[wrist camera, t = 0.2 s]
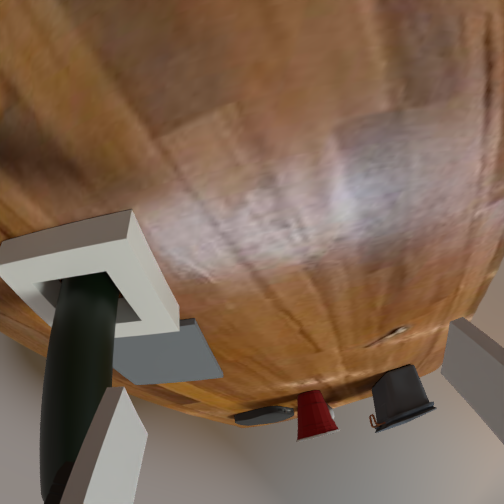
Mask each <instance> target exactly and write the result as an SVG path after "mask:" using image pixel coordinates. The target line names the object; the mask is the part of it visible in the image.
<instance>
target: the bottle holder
mask: <svg viewBox="0 0 504 504" xmlns="http://www.w3.org/2000/svg"><path fill="white" fill-rule="evenodd" d="M104 271H106V272H107V273H108V275H109V276H110V278H111V279H112V280H113V282H114V283H115V285H116V286H117V288H118V289H119V290H120V292H121V293H122V295H123V296H124V297H125V298H118V307H117V316H116V326H115V338H119V337H130V336H140V335H150V334H159V333H168V332H176V331H180V327H179V305H178V303H177V301H176V299H175V297H174V296H173V294H172V292H171V290H170V288H169V286H168V284H167V282H166V280H165V278H164V276H163V274H162V272H161V270H160V268H159V266H158V264H157V262H156V260H155V258H154V256H153V254H152V252H151V250H150V247H149V245H148V243H147V241H146V239H145V237H144V235H143V233H142V230H141V228H140V226H139V224H138V222H137V220H136V217H135V215H134V213H133V211H132V209H131V210H127V211H122V212H117V213H113V214H108V215H104V216H99V217H95V218H91V219H86V220H82V221H78V222H74V223H70V224H66V225H62V226H58V227H54V228H50V229H46V230H42V231H38V232H35V233H31V234H27V235H24V236H20V237H16V238H13V239H9V240H6V241H3V242H2V244H1V246H0V277H1V278H2V279H3V280H4V281H5V282H6V283H7V284H8V285H9V286H10V287H11V288H12V290H13V291H14V292H15V293H16V294H17V295H18V296H19V297H20V298H21V299H22V300H23V301H24V302H25V303H26V304H27V305H28V306H29V307H30V308H31V309H32V310H33V311H34V312H36V313H37V314H38V315H39V316H40V317H41V318H42V319H43V320H44V321H45V322H46V323H47V324H48V325H50V326H51V327H52V324H53V319H54V314H55V309H56V304H57V300H58V296H59V291H60V287H61V282H60V281H59V280H58V279H62V278H68V277H74V276H80V275H86V274H92V273H98V272H104Z"/></svg>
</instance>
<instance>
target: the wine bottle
mask: <svg viewBox="0 0 504 504" xmlns="http://www.w3.org/2000/svg"><path fill="white" fill-rule="evenodd" d="M118 298H119V289H118V288H117V286H116V285H115V283H114V282H113V280H112V279H111V278H110V276H109V275H108V273H107V272H106V271H104V272H98V273H92V274H86V275H80V276H74V277H68V278H63V279H62V283H61V287H60V291H59V296H58V300H57V304H56V309H55V314H54V319H53V324H52V329H51V335H50V341H49V347H48V353H47V360H46V367H45V376H44V384H43V394H42V406H41V422H40V483H41V495H42V498H43V501H44V503H45V500H46V498H47V495H48V494H49V490H50V487H51V485H53V480H54V478H55V475H56V473H57V471H58V470H59V468H60V467H61V466H62V465H63V464H64V463H65V462H66V461H68V462H75V461H76V459H77V456H78V454H79V451H80V449H81V446H82V444H83V441H84V439H85V437H86V434H87V432H88V429H89V427H90V425H91V422H92V420H93V418H94V415H95V413H96V411H97V409H98V406H99V404H100V402H101V400H102V397H103V395H104V393H105V391H106V389H107V387H112V369H113V352H114V338H115V326H116V316H117V307H118Z"/></svg>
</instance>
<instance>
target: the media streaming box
mask: <svg viewBox="0 0 504 504" xmlns="http://www.w3.org/2000/svg"><path fill="white" fill-rule="evenodd" d="M292 416H294V411H293V408H288V407H281V406H270V407H264V408H260V409H256V410H252V411H248V412H244V413H241V414H237V415H235V416H234V417H235V423H237V424H240V425H247V426H249V425H258V424H268V423H275V422H279V421H282V420H285V419H288V418H290V417H292Z"/></svg>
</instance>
